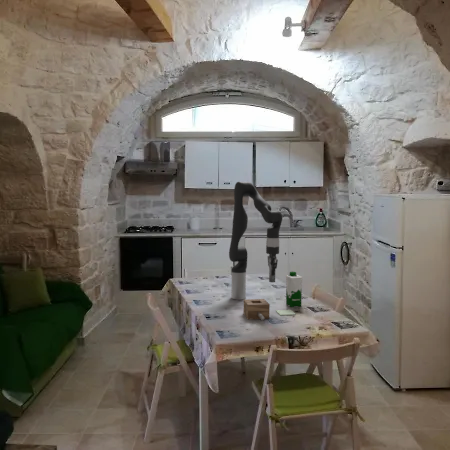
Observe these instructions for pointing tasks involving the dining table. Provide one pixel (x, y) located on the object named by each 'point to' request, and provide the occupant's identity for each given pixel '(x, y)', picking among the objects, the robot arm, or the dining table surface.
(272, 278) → the key peg
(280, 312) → the pad
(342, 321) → the dining table surface
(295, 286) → the milk carton
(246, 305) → the brown wooden block
